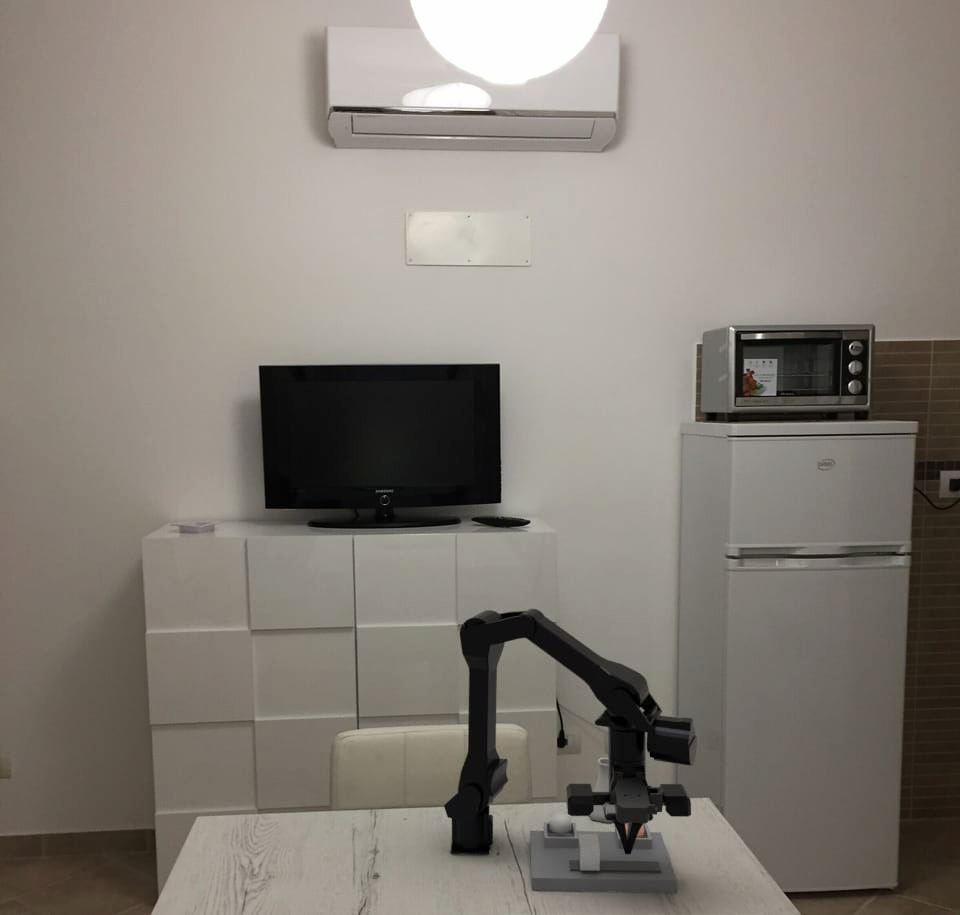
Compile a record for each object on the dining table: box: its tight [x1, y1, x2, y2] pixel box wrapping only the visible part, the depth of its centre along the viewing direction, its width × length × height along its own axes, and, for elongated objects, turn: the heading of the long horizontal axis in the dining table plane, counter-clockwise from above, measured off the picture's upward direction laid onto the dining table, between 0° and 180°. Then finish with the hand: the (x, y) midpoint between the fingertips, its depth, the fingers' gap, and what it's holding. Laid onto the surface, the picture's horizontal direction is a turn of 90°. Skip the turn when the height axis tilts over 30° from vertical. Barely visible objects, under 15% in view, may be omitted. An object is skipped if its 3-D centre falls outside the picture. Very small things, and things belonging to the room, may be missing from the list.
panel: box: [529, 821, 678, 894], centre depth 140 cm, size 22×15×4 cm
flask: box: [588, 757, 613, 824], centre depth 158 cm, size 7×7×10 cm
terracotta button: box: [625, 823, 644, 838], centre depth 144 cm, size 4×4×2 cm
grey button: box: [549, 810, 572, 833], centre depth 145 cm, size 4×4×2 cm
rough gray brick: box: [578, 834, 600, 871], centre depth 136 cm, size 3×4×4 cm
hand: (627, 853), depth 136 cm, fingers closed
